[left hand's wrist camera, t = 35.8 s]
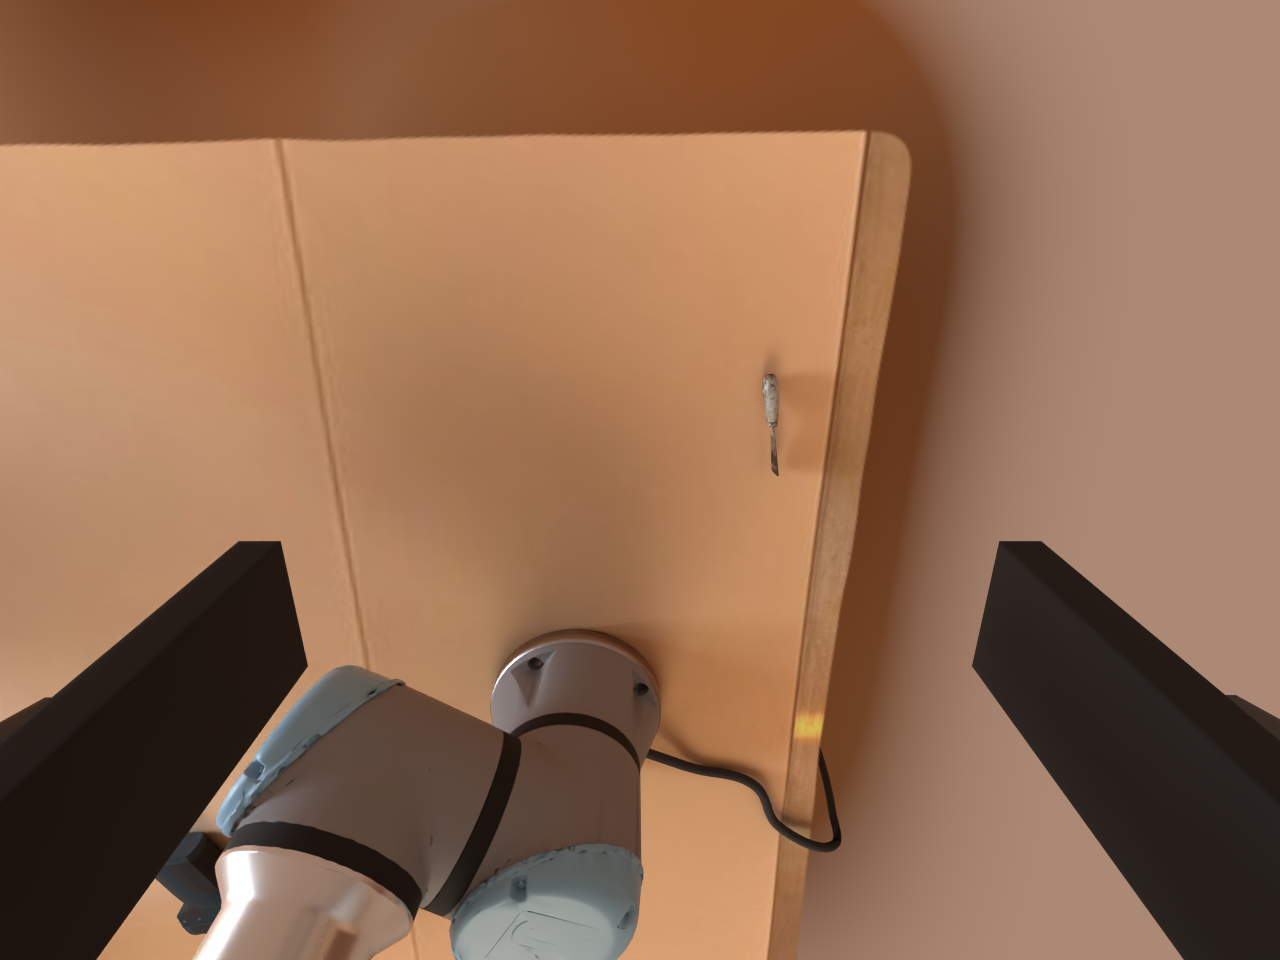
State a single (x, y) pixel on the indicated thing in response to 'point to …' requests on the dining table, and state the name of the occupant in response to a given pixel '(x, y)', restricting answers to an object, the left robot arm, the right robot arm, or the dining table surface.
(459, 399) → the dining table surface
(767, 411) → the putty knife
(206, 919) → the handgun
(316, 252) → the dining table surface
